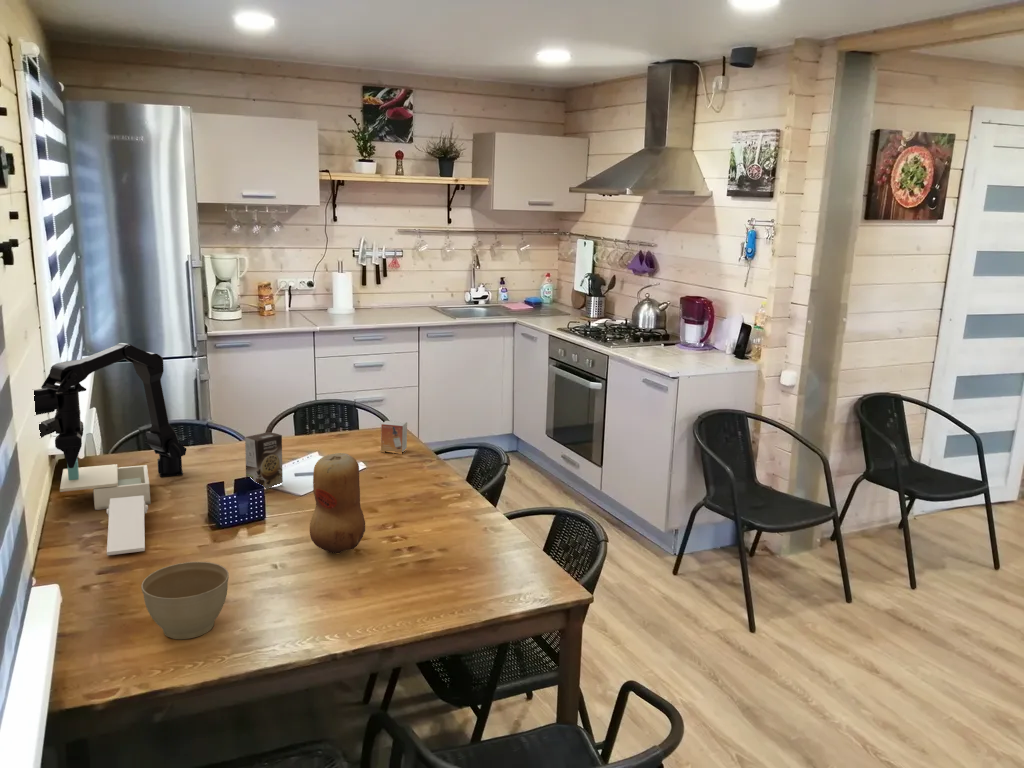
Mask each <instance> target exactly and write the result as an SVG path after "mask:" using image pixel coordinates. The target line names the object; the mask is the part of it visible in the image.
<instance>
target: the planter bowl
mask: <svg viewBox="0 0 1024 768" xmlns="http://www.w3.org/2000/svg"><path fill="white" fill-rule="evenodd" d="M229 575H230V574H229V570H228V569H227V568H226V567H224V566H223V565H220V564H218V563H215V562H210V561H208V562H207V561H188V562H187V561H186V562H182V563H181V562H179V563H176V564H171V565H168V566H164V567H161V568H159V569H157V570H155V571H154V572H152V573H150V574H149V575H147V577H145V578H144V579H143V581H142V583H141V587H140V588H141V593H142V594H143V600H144V604H145V607H146V610H147V612H148V613H149V615H150V617H151V619H152V620H153V621H154V623H155V624H157V625H156V626H158V627H160V628H161V629H162V632H163V634H164V635H165V636H166V637H168V638H170V639H174V640H188V639H194V638H197V637H200V636H202V635H204V634H207V633H208V632H209V631H211V630H212V629H213V627H214V626H215V621H216V619H217V618H218V616H219V614H220V613H221V612H222V609H223V607H224V605H225V602H226V598H227V595H228V587H229V586H228V583H229V578H230V577H229Z"/></svg>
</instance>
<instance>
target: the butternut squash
mask: <svg viewBox="0 0 1024 768" xmlns="http://www.w3.org/2000/svg"><path fill="white" fill-rule="evenodd" d="M312 476H313V477H312V483H313V484H312V485H313V487H312V488H313V495H314V496H313V497H314V500H315V508H314V510H313V513H312V514H311V519H310V522H309V535H310V539H311V541H312V543H314V545H315V546H316V547H318V548H320V549H321V550H323V551H325V552H328V553H332V554H336V553H340V554H342V552H345V551H349V550H354V549H355V548H356V547H357V546H358V545H359V544H360V542H361V541H362V539H363V537H364V534H365V532H366V520H365V515H364V512H363V510H362V508H361V489H360V488H361V487H360V465H359V462H358V461H357V459H356V458H355V457H353V455H349V454H348V453H344V452H343V453H342V452H337V453H331V454H327V455H325V456H322V457H321V458H320V459H318V460H317V462H316V463H315V464H314V468H313V475H312Z"/></svg>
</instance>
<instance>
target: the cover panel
mask: <svg viewBox="0 0 1024 768" xmlns="http://www.w3.org/2000/svg"><path fill="white" fill-rule="evenodd" d="M78 460H79V459H78V457H77V460H76V462H75V465H74V468H69V467H68V464H67V463H66V465H67V468H63V469H62V475H61V481H60V487H59V492H60V493H61V492H71V491H73V492H74V491H80V490H81V491H82V490H92V489H93V488H103V487H112V486H118V472H117V468H118V463H116V464H114V463H113V464H104V465H102V464H101V465H93V466H82V467H79V461H78Z"/></svg>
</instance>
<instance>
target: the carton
mask: <svg viewBox="0 0 1024 768" xmlns="http://www.w3.org/2000/svg"><path fill="white" fill-rule="evenodd" d="M117 472H118V486H112V487H103V488H93V503H94V511H99V510H107V509H109V504H110V499H111V498H122V497H132V496H143V495H144V501H145V505H151V488H150V479H149V471H148V465H147V464H144V465H133V466H132V465H130V466H121V467H117Z"/></svg>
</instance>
